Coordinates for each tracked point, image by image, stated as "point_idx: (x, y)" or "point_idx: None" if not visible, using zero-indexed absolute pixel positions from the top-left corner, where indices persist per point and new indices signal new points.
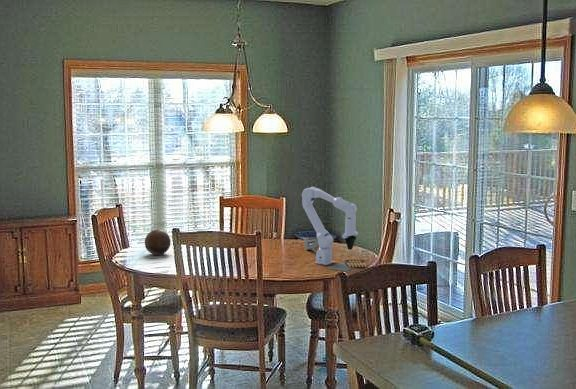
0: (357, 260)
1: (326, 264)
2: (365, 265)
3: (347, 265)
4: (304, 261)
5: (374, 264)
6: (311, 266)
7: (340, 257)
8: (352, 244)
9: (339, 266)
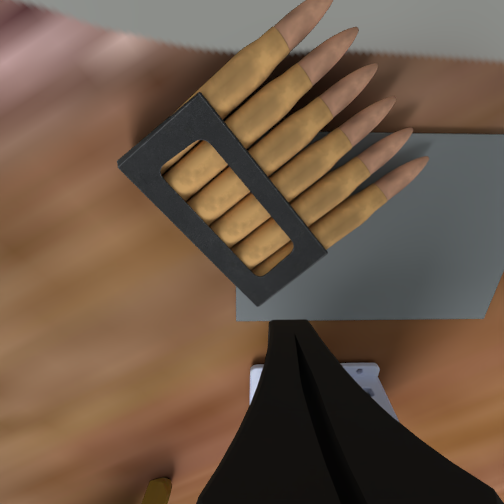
0: (191, 208)
1: (376, 365)
2: (312, 17)
3: None
4: None
5: (54, 25)
6: (452, 404)
7: (76, 406)
8: (299, 377)
9: (390, 269)
